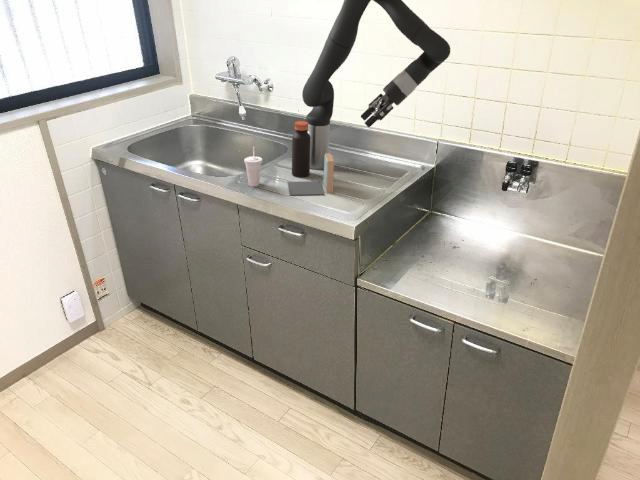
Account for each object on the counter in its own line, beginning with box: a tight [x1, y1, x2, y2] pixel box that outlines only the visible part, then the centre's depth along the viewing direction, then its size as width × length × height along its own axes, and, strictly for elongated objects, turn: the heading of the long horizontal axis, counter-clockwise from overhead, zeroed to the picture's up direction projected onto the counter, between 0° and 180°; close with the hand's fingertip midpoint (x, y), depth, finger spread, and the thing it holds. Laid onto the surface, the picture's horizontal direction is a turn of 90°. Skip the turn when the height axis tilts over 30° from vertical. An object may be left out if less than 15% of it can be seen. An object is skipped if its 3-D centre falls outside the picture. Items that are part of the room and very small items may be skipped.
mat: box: [287, 180, 325, 197], centre depth 192 cm, size 12×12×1 cm
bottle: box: [291, 120, 311, 178], centre depth 199 cm, size 7×7×20 cm
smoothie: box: [243, 146, 263, 187], centre depth 190 cm, size 6×6×14 cm
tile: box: [322, 152, 335, 194], centre depth 190 cm, size 2×8×12 cm, turn 7°
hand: (364, 121), depth 182 cm, fingers open, 8 cm apart
